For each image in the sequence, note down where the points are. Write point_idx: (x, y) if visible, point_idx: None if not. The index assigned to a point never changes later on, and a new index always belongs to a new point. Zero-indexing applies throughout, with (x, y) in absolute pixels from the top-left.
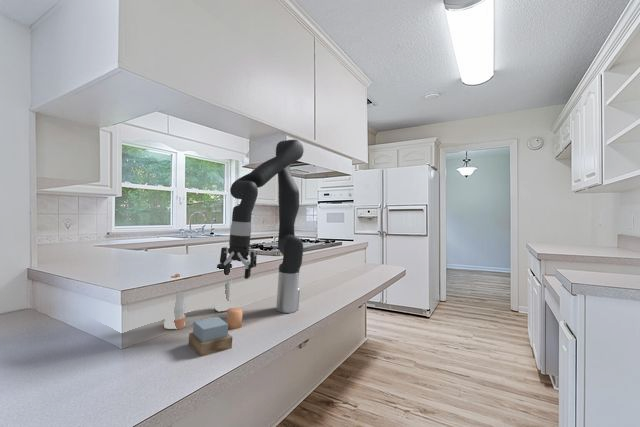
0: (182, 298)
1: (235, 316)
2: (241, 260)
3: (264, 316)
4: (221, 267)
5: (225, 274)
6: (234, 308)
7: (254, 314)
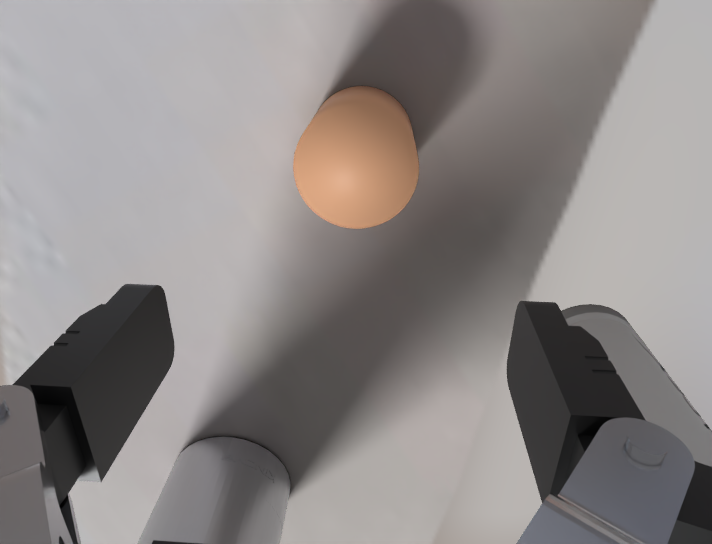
0: None
1: (319, 112)
2: (31, 540)
3: (282, 354)
4: None
5: (536, 304)
6: (385, 208)
7: (352, 358)
